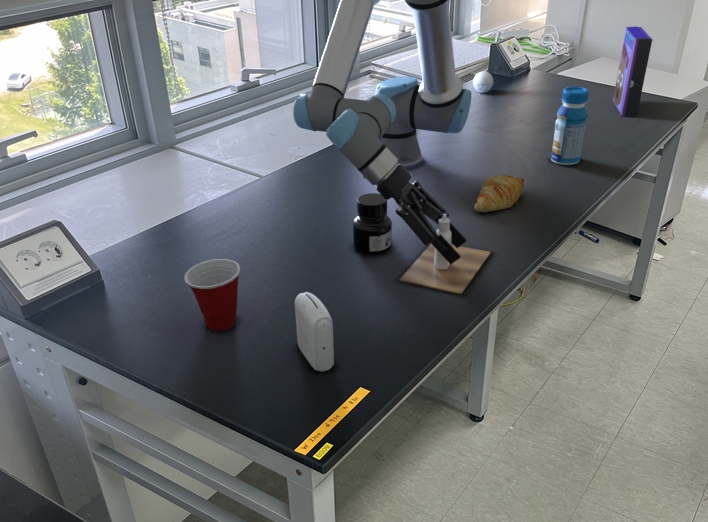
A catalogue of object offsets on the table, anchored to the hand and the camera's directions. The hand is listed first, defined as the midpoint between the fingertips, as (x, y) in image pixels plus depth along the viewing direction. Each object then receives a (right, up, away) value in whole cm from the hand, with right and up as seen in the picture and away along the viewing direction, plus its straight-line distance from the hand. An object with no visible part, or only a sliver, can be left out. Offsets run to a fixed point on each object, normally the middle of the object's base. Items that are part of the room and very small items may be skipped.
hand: (458, 252), depth 158 cm
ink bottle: (-18, +3, +12) cm, 22 cm away
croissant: (+15, +17, +30) cm, 38 cm away
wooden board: (-2, -3, +3) cm, 5 cm away
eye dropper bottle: (-3, -2, +3) cm, 5 cm away
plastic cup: (-50, -16, -13) cm, 54 cm away
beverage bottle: (+39, +34, +51) cm, 73 cm away
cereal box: (+71, +61, +88) cm, 128 cm away
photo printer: (-30, -23, -23) cm, 45 cm away
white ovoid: (+28, +74, +107) cm, 133 cm away
